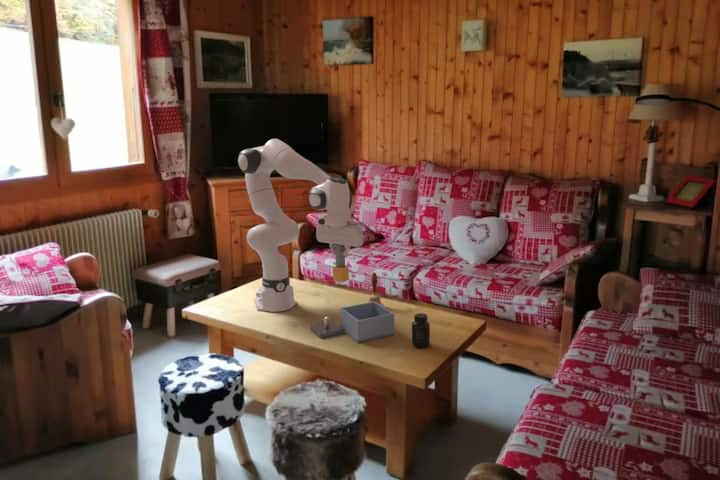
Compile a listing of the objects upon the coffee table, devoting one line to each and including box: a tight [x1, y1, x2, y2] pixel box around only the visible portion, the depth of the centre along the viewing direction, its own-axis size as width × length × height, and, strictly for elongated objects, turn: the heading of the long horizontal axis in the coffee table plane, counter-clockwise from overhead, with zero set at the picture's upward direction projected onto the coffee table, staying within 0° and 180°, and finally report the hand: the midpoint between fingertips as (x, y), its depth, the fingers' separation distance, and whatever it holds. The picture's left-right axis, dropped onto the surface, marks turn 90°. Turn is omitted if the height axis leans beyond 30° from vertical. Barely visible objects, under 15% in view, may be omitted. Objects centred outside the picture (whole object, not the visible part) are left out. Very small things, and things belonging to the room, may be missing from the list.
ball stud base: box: [310, 316, 345, 339], centre depth 235 cm, size 10×10×6 cm
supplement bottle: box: [411, 312, 431, 349], centre depth 221 cm, size 7×7×12 cm
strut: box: [332, 244, 350, 283], centre depth 228 cm, size 4×4×15 cm
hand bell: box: [368, 272, 385, 307], centre depth 260 cm, size 8×8×16 cm
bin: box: [339, 301, 395, 344], centre depth 234 cm, size 16×16×9 cm
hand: (340, 255), depth 228 cm, fingers closed on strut, 4 cm apart
